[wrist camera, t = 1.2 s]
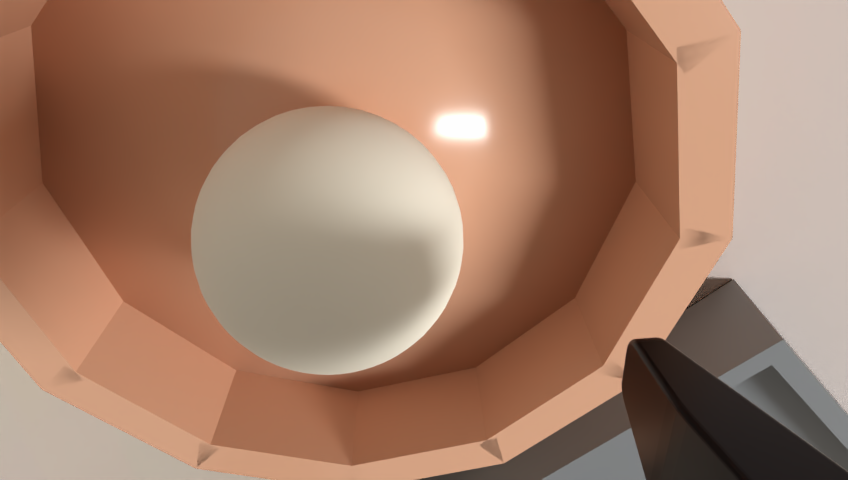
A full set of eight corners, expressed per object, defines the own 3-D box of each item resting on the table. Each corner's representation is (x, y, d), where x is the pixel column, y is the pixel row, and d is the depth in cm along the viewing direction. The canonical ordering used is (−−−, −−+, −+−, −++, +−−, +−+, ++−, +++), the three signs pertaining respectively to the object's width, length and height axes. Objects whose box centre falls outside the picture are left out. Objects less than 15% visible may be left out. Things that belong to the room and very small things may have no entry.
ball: (352, 304, 15) (331, 472, 11) (186, 182, 13) (80, 328, 9) (498, 182, 13) (543, 324, 9) (332, 19, 11) (288, 101, 7)
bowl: (365, 450, 19) (358, 551, 16) (-103, 164, 14) (-245, 243, 11) (776, 163, 14) (874, 237, 11) (305, -511, 8) (248, -733, 5)
